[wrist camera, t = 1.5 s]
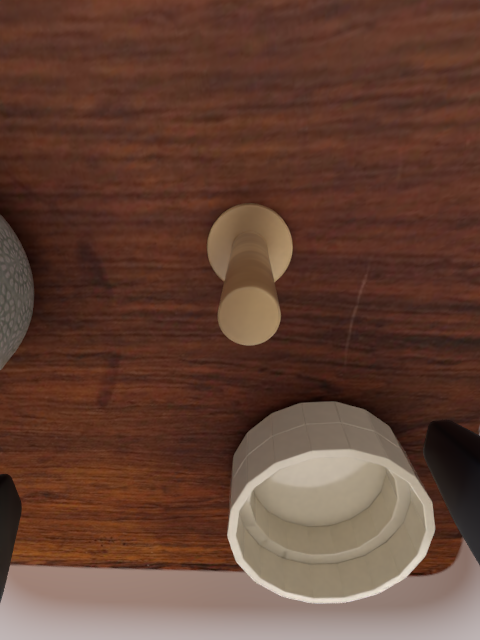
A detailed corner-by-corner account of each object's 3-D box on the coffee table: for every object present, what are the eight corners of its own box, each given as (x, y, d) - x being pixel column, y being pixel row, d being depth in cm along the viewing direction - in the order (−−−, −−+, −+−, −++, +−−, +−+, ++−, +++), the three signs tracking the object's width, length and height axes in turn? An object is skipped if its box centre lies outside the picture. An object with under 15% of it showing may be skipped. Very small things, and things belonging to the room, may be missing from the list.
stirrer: (297, 208, 21) (341, 249, 11) (284, 290, 22) (312, 392, 12) (211, 198, 21) (175, 230, 11) (205, 281, 22) (167, 377, 12)
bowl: (421, 404, 25) (461, 460, 20) (379, 540, 29) (404, 613, 24) (241, 385, 25) (239, 437, 20) (224, 524, 29) (219, 594, 24)
